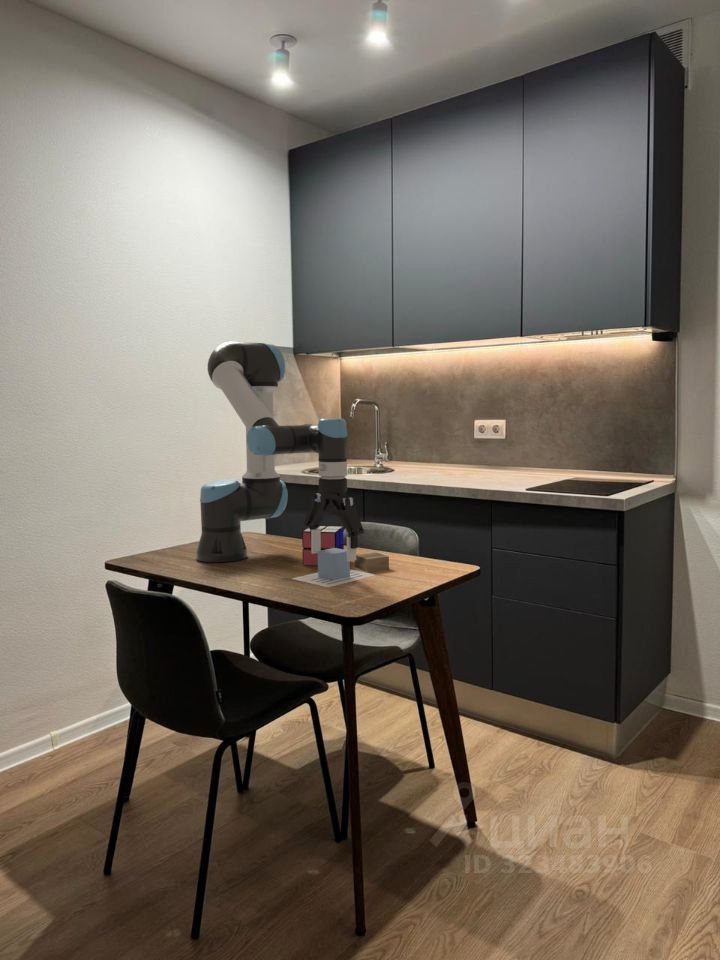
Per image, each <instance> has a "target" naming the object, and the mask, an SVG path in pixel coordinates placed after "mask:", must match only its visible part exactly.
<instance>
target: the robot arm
mask: <svg viewBox="0 0 720 960" xmlns="http://www.w3.org/2000/svg"><path fill="white" fill-rule="evenodd" d="M207 373H208V376H209V379H210V381H211V382H212V383H213V385H214V386H215V388H218V389H219V390H221V391H222V392H223V394H224V396H225V397H226V399H227V400H228V402H229V404H230V405H231V406H232V408H233V409H234V411H235V413H236V414H237V416H238V417H239V419H240V420H241V421H242V423H243V425H244V427H245V445H246V446H245V447H246V448H245V449H246V451H245V452H246V472H245V473H243V474H242V476H241V479H242V480H241V482H240V480H239V479H238V478H228V479H220V480H214V481H209V482H207V483H205V484H203V485H202V486H201V488H200V498H199V502H200V519H201V520H200V523H201V524H200V525H201V533H200V534H201V535H200V538H199V542H198V544H197V549H196V553H195V554H196V560H197V561H200V562H203V563H204V562H205V563H228V562H235V561H236V562H237V561H241V560H243V559H246V558H247V557H248V549H247V545H246V542H245V541H244V537H243V535H242V529H241V528H242V527H241V522H246V521H254V520H263V519H264V520H270V519H273V518H277V517H280V516H281V515H282V514H283V513H284V511H285V510H286V507H287V504H288V498H289V496H288V489H287V486H286V485H287V484H286V483H285V482H284V481H283V480H281V478H280V477H281V475H280V474H279V473H278V472H277V471H276V469H275V467H276V462H275V455H276V456H277V455H285V454H286V455H287V454H289V455H290V454H308V453H312V454H318V476H319V479H318V492H317V493H316V492H315V493H312V495H311V503H310V506H309V509H308V512H307V515H306V518H305V520H304V522H303V524H304V526H305V527H307V528H309V529H310V539H311V553H312V554H315V553H318V551H321V529H317V528H320V527H319V526H321V523H322V522H323V521H324V519H325V517H326V516H327V514H328V513H331V514H335V515H336V516H338V518H339V520H340V522H341V523H342V525H343V528H344V529H345V531H346V532H347V533H348V535H347V536H346V550H347V561H348V562H350V563H351V562H353V561H354V562H355V560H356V555H357V548H358V544H359V543H358V541H359V539H358V537H359V535H360V536H361V535H363V534H364V533H365V531H364V527H363V524H362V521H361V519H360V517H359V516H360V515H359V513H358V511H357V510H358V509H357V506H356V502H355V500H356V499H355V497H354V496H352V497H351V496H350V497H346V493H347V491H348V479H347V478H346V477H348V429H347V428H348V427H347V426H348V425H347V421H346V419H345V418H338V417H337V418H335V417H334V418H333V417H330V418H329V417H327V418H325V417H324V418H320V419H319V420H318V423H317V425H316V424H312V423H311V424H310V423H307V424H306V423H305V424H297V425H296V424H295V425H292V424H291V425H279V424H278V423H277V421H276V420H275V418H274V393H275V392H276V390H277V389H278V388H279V386H278V385H279V383H280V382H281V381H282V380H284V378H285V374H286V361H285V357H284V355H283V353H282V351H281V349H280V348H279V347H278V346H277V345H275V344H273V343H265V342H238V341H228V342H224V343H222V344H220V345H218V346H217V347H215V348H214V350H213V351H212V352H211V354H210V356H209V358H208V362H207Z"/></svg>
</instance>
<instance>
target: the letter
mask: <svg viewBox="0 0 720 960" xmlns="http://www.w3.org/2000/svg"><path fill="white" fill-rule="evenodd" d="M375 576H376V574H374V573H371V572H366V571H364V572H363V571H361V570H355V569H352V568H350V577H347V578H342V579H338V580H334V581H333V580H329V579H324V578H320V577H318V572H315V573H309V574H305V575H301V576H297V577H292V578H291V579H292V580H294V581H295V580H296V581H300V582H304V583H307V584H312V585H316V586H321V587H324V588H331V587H334V586H335V587H336V586H340V585H343V584H347V583H352V582H354V581H358V580H363V579H366V578H370V577H375Z"/></svg>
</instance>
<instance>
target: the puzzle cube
mask: <svg viewBox="0 0 720 960" xmlns="http://www.w3.org/2000/svg"><path fill="white" fill-rule="evenodd" d="M319 527H320V528H317V529H321V550H326V549H331V548H338V549H343V550H345V547H344V543H345V540H344V539H345V538H344V532H345V531H344V526H333V525H332V526H330V525H329V526H328V525H327V526H326V525H319ZM301 533H302V534H301V535H302V536H301V537H302V539H301V540H302V542H301V543H302V566H318V553H315V554H312V553H311V539H310V529H309V527H307V528H306V529H305V530H303V531H302V532H301Z"/></svg>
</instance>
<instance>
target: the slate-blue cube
mask: <svg viewBox="0 0 720 960" xmlns="http://www.w3.org/2000/svg"><path fill="white" fill-rule="evenodd" d="M350 569H351V561H350V562H348V561H347V549H344V550H343V549H338V548H331V549H326V550H321V551H318V565H317V573H318V577H320V578H324V579H329V580H333V581H334V580H338V579H342V578H347V577H350Z"/></svg>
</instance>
